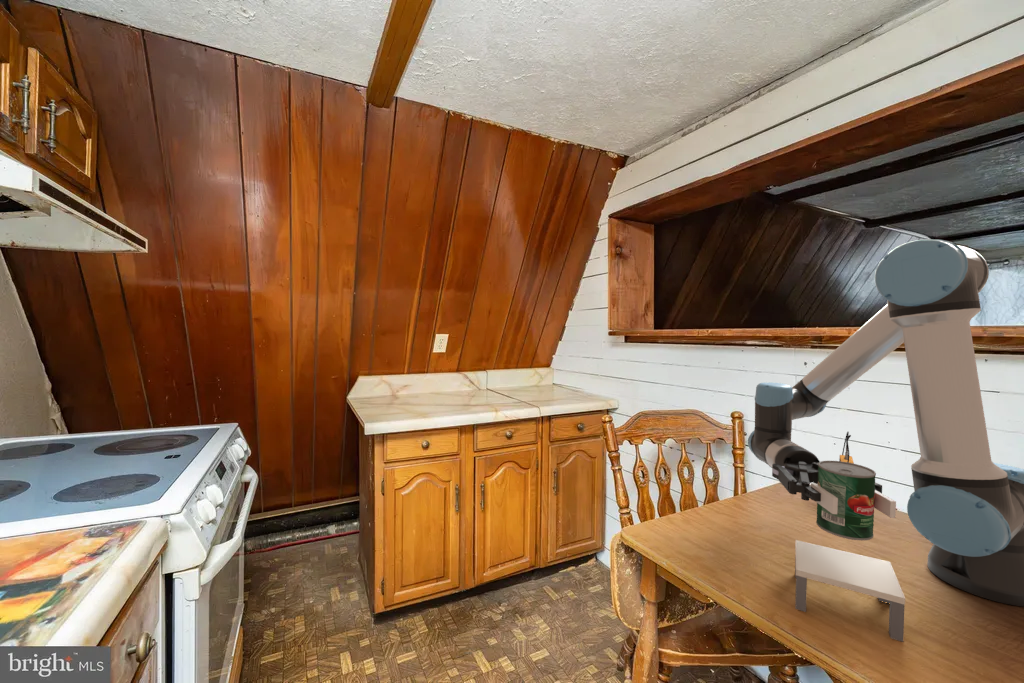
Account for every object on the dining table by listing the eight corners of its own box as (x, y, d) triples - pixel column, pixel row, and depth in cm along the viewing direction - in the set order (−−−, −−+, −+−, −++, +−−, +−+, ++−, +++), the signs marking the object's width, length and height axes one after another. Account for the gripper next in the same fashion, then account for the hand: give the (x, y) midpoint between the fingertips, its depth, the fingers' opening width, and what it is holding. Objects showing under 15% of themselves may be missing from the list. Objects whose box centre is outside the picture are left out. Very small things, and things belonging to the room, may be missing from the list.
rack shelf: (888, 599, 75) (890, 561, 75) (903, 642, 65) (905, 598, 65) (794, 574, 83) (795, 539, 83) (795, 608, 73) (796, 569, 73)
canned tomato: (817, 514, 79) (819, 457, 79) (872, 527, 74) (875, 466, 74) (814, 530, 73) (816, 468, 72) (874, 546, 68) (876, 479, 67)
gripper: (844, 481, 90) (934, 534, 67) (741, 476, 93) (794, 525, 70) (845, 446, 89) (936, 488, 67) (742, 442, 92) (795, 481, 70)
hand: (863, 507), depth 69 cm, fingers closed on canned tomato, 8 cm apart
